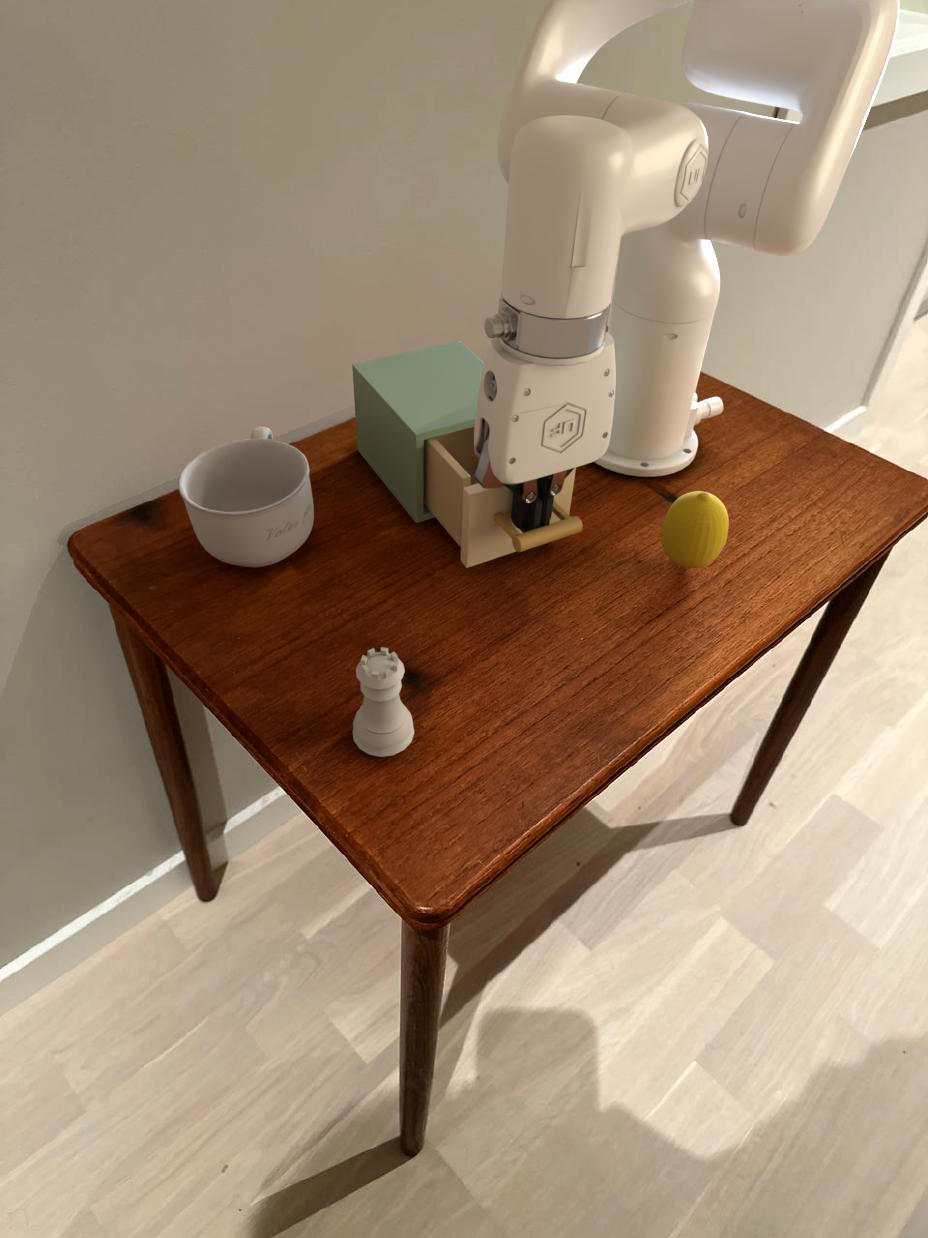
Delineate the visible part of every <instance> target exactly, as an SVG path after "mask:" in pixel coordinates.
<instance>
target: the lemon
mask: <svg viewBox="0 0 928 1238" xmlns="http://www.w3.org/2000/svg"><path fill="white" fill-rule="evenodd" d="M729 524H730V521H729V514H728V510H727V508H726V506H725V504H724V503H723V502H722V500H721V499H719V498H718V497H717V496H716V495H714V494H712V493H710V492H707V491H702V490H697V491H696V490H695V491H691V492H687V493H685V494H683V495H681V496H679V497H678V498H677V499H676V500H675V501H673V503H672V504H671V505H670V507H669V508H668V510H667V512H666V514H665V517H664V519H663V521H662V525H661V530H660V531H661V532H660V540H661V546H662V549H663V552H664V554H665V556H667V558H668V559H669V560H670V561H671V562H672V563H674V564H675V565H677V566H679V567H681V568H685V569H699V568H702V567H705V566H707V565H709V564H711V563H712V562H713V561H714V560H716V559H717V558H718V557H719V555H720V554H721V552H722V551H723V549H724V547H725V545H726V543H727V540H728V536H729V535H728V534H729V527H730V525H729Z"/></svg>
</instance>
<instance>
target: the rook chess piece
mask: <svg viewBox="0 0 928 1238" xmlns="http://www.w3.org/2000/svg"><path fill="white" fill-rule="evenodd" d="M366 652H367V655H364V654H363V655H362V656H361V658H360V661H359V662H358V664H357V666H356V668H355V675H356V678H357V680H358V681H359V682H360V684H359V687H360V692H361V693H362V695H363V698H362V699H363V700H362V704H361V705H360V707H359V709H358V710H357V711H356V713H355V715H354V719H353V721H352V726H353V727H352V728H353V729H352V737H353V742H354V743H355V744H356V746H357V747H358V749H359V750H361V751H362V752H364V753H365V754H368V755H369V756H373V757H380V758H386V757H393V756H395V755H397V754H398V753H399V754H400V753H401V752H403V751H404V750H406V749H407V747H409V746H410V744H411V743H412V741H413V738H414V735H415V729H414V728H415V727H414V721H413V716H412V714H411V712H410V710H409V709H408V708H407V707H406V706H405V704H403V702H402V700H401V697H400V692H401V690H402V687H403V684H402V680H403V678H404V674H405V671H406V670H405V666H404V665H405V664H404V663H403V662H402V661H401V659H400V658H399V655H398V654H397V653H396V652H395V651H392V652H390V653H389V648H388V647H383V646H382V647H381V646H380V651H376V650H375V648H374V647H372V648H371V649H368V650H367V651H366Z"/></svg>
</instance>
